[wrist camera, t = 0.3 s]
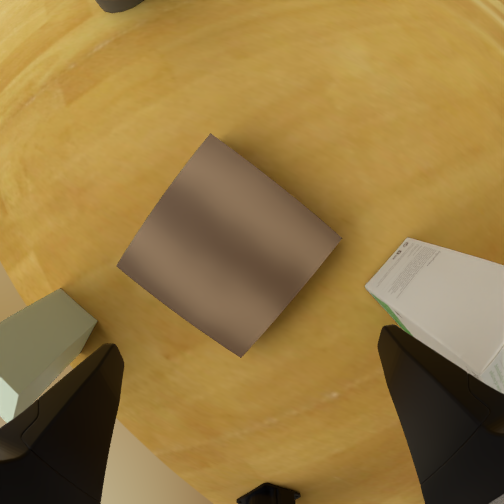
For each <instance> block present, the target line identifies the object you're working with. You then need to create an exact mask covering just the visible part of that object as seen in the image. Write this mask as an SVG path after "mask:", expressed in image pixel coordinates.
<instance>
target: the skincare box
mask: <svg viewBox="0 0 504 504" xmlns="http://www.w3.org/2000/svg"><path fill="white" fill-rule="evenodd" d="M365 288H366V289H367V291H368V292H369V293H370V294H371V295H372V296H373V297H374V298H375V299H376V300H377V301H378V303H379V304H380V305H381V306H382V307H383V308H384V309H385V310H386V311H387V312H388V314H389V315H390V316H391V317H392V318H393V319H394V320H395V321H396V322H397V323H398V325H399V326H400V327H401V328H402V329H403V330H404V331H405V332H407V333H408V334H410V335H411V336H413V337H415V338H416V339H418V340H419V341H421V342H422V343H424V344H425V345H427V346H428V347H430V348H431V349H433V350H435V351H436V352H438V353H439V354H441V355H442V356H444V357H445V358H447V359H448V360H450V361H451V362H453V363H454V364H456V365H457V366H459V367H460V368H462V369H463V370H465V371H466V372H467V374H468V373H470V374H471V375H473V376H474V377H476V378H477V379H479V380H480V381H482V382H484V383H485V384H487V385H488V386H490V387H492V388H494V389H496V390H497V391H499V392H501V393H503V394H504V265H501V264H498V263H495V262H491V261H488V260H485V259H482V258H478V257H475V256H472V255H468V254H465V253H462V252H458V251H455V250H451V249H448V248H444V247H441V246H437V245H433V244H430V243H426V242H423V241H419V240H416V239H412V238H409V237H407V238H406V239H405V240H404V242H403V243H402V244H401V245H400V246H399V248H398V249H397V250H396V251H395V252H394V253H393V254H392V256H391V257H390V258H389V259H388V260H387V261H386V263H385V264H384V265H383V266H382V267H381V268H380V269H379V271H378V272H377V273H376V274H375V275H374V276H373V277H372V278H371V279H370V280H369V282H368V283H367V284H366V285H365Z"/></svg>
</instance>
